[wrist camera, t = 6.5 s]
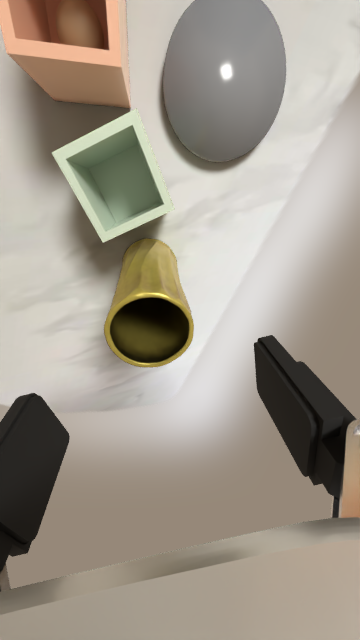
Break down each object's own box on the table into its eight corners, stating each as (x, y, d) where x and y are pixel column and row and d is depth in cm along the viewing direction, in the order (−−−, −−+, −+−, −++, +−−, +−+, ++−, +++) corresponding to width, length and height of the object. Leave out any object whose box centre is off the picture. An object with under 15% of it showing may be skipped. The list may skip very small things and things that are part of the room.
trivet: (148, 15, 17) (148, 5, 16) (280, -19, 16) (287, -31, 16) (177, 173, 21) (178, 172, 21) (279, 148, 21) (284, 146, 21)
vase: (187, 258, 26) (222, 318, 13) (158, 300, 28) (164, 386, 15) (140, 226, 23) (129, 261, 11) (112, 274, 25) (77, 349, 13)
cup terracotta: (35, -19, 15) (-41, -160, 9) (125, -4, 16) (110, -126, 10) (54, 100, 18) (6, 53, 12) (130, 108, 19) (121, 67, 13)
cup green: (81, 165, 20) (51, 152, 14) (140, 134, 20) (136, 108, 14) (115, 230, 23) (102, 242, 17) (168, 205, 23) (174, 209, 17)
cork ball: (56, 21, 16) (38, -13, 13) (97, 10, 16) (87, -25, 13) (75, 80, 17) (62, 60, 15) (113, 70, 17) (107, 48, 15)
